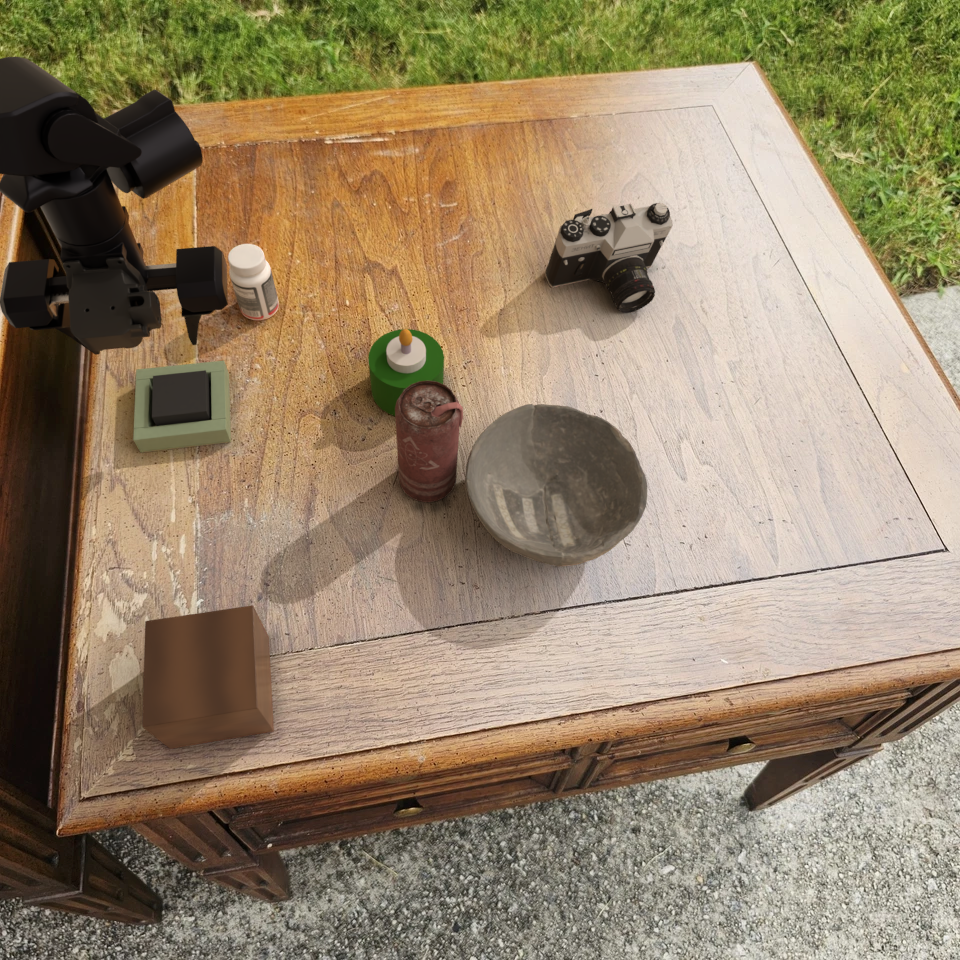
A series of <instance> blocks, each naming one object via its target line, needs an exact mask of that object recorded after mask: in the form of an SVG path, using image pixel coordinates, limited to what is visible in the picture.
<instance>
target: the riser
mask: <svg viewBox="0 0 960 960" xmlns="http://www.w3.org/2000/svg"><path fill="white" fill-rule="evenodd" d="M143 650H144V652H143V654H144V655H143V685H142V716H141V717H142V719H141V720H142V721H141V727H142V728H143V729H144V730H145V731H147V732H148V733H149V734H150V735H152V736H153V737H154V738H156V739H157V740H158V741H159V742H161V743H162V744H163V745H165V746H166V747H167V748H168V749H170V750H172V749H177V748H185V747H189V746H196V745H201V744H208V743H213V742H219V741H225V740H231V739H237V738H238V739H239V738H243V737H248V736H255V735H260V734H267V733H272V732H275V728H274V727H275V725H274V723H275V722H274V708H273V707H274V706H273V705H274V704H273V688H272V687H273V686H272V669H271V668H272V667H271V666H272V665H271V646H270V636H269V634H268V632H267V631H266V628H265V626H264V624H263V622H262V621H261V618H260V615H259V614H258V611H257V610H256V608H255V606H254V605H253V604H252V605H246V606H245V605H244V606H240V607H232V608H226V609H218V610H212V611H211V610H210V611H204V612H199V613H193V614H192V613H191V614H184V615H178V616H171V617H170V616H169V617H164V618H156V619H150V620H149V619H148V620H145V621H144V649H143Z"/></svg>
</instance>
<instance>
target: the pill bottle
mask: <svg viewBox="0 0 960 960" xmlns="http://www.w3.org/2000/svg"><path fill="white" fill-rule="evenodd" d="M227 260H228V261H227V262H228V265H229V270H228V271H229V273H228V274H229V278H230V282H231V284H232V288H233V292H234V295H235V298H236V302H237V304H238V309H239V310H240V313H241V314H242V316H244V317H245V318H246V319H249V320H251V321H264V320H267V319H270V318H271V317H273V316H274V315H275V314H276V313H277V312H278V311H279V307H280V302H279V297H278V292H277V288H276V284H275V280H274V277H273V276H274V275H273V271H272V268H271V265H270V263H269V262H268V261H267V260H266V256H265V253H264V251H263V249H262V247H260V246H258V245H257V244H254V243H242V244H239V245H236V246H234V247H233V248H231V250H230V251H229V253H228V255H227Z"/></svg>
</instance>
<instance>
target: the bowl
mask: <svg viewBox="0 0 960 960" xmlns="http://www.w3.org/2000/svg"><path fill="white" fill-rule="evenodd" d="M464 479H465V480H464V481H465V487H466V491H467V496H468V499H469V501H470V504H471V506H472V509H473V511H474V512H475V513H474V514H475V515H476V516H477V518H478V520H479V521H480V523H481V524H482V526H483V527H484V528H485V530H486V531H487V533H489V534H490V536H491V537H492V538H493V539H494V540H495V541H496V542H497V543H499V544H500V545H501V546H503V547H504V548H505V549H507V550H509V551H510V552H513V553H515V554H518V555H519V556H522V557H524V558H526V559H528V560H531V561H535V562H538V563H541V564H545V565H550V566H555V567H558V568H560V567H569V566H570V567H571V566H572V567H573V566H577V565H581V564H584V563H587V562H590V561H594V560H595V559H598V558H600V557H601V556H604V555H605V554H607V553H608V552H610V551H611V550H612V549H615V547H616V546H618V544H619V543H620V542H622V541H623V540H624V539H626V538H627V537H628V536H629V535H630V534H631V533H632V532H633V531H634V529H635V528H636V527H637V525H638V524H639V522H640V521H641V519H642V517H643V515H644V512H645V510H646V508H647V502H648V481H647V477H646V474H645V472H644V470H643V468H642V465H641V463H640V460H639V458H638V456H637V453H636V450H635V449H634V447H633V446H632V443H631V442H630V441H629V440H628V439H627V438H626V437H624V436H623V433H622V432H621V431H620V430H619V429H618V427H616V426H614V425H613V424H612V423H611V422H610V421H608V420H606V419H604V418H602V417H601V416H597V415H594V414H588V413H586V412H585V411H581V410H579V409H577V408H574V407H572V406H569V405H559V404H558V405H556V404H545V403H540V404H539V403H538V404H533V403H529V404H524V405H521V406H518V407H516V408H513V409H511V410H509V411H507V412H505V413H504V414H502V415H500V416H499V417H497V418H496V419H495V420H494V421H493V422H492V423H491V424H489V425H488V426H487V427H485V429H484V430H483V432H481V433H480V435H479V436H478V437H477V439H476V440H475V442H474V444H473V445H472V447H471V450H470V452H469V455H468V458H467V462H466V466H465V478H464Z"/></svg>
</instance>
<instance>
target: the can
mask: <svg viewBox="0 0 960 960" xmlns="http://www.w3.org/2000/svg"><path fill="white" fill-rule="evenodd" d="M394 417H395V418H394V419H395V432H396V433H395V435H396V450H397V452H396V453H397V466H398V467H397V468H398V469H397V470H398V480H399V485H400V487H401V489H402V491H403V493H405V494H406V495H407V496H408V497H409V498H410V499H413V500H415V501H418V502H422V503H433V502H438V501H440V500H442V499H444V498H446V497H448V495H449V494H451V493H452V491H453V489H454V487H455V486H456V481H457V474H458V473H457V470H458V459H459V458H458V455H459V440H460V439H459V438H460V428H461V427H462V424H463V421H464V408H463V406H462V405H461V403H460V401H459V399H458V398H457V397H456V395H455V393H454V392H453V391H452V389H451V388H449V387H448V386H447V385H445V384H444V383H443V384H441V383H439V382H436V381H429V380H427V381H419V382H416V383H414V384H411V385H410V386H408V387H407V388H406V389H404V391H403V392H402V394H401V395H400V397H399V398H398V400H397V402H396V406H395V416H394Z"/></svg>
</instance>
